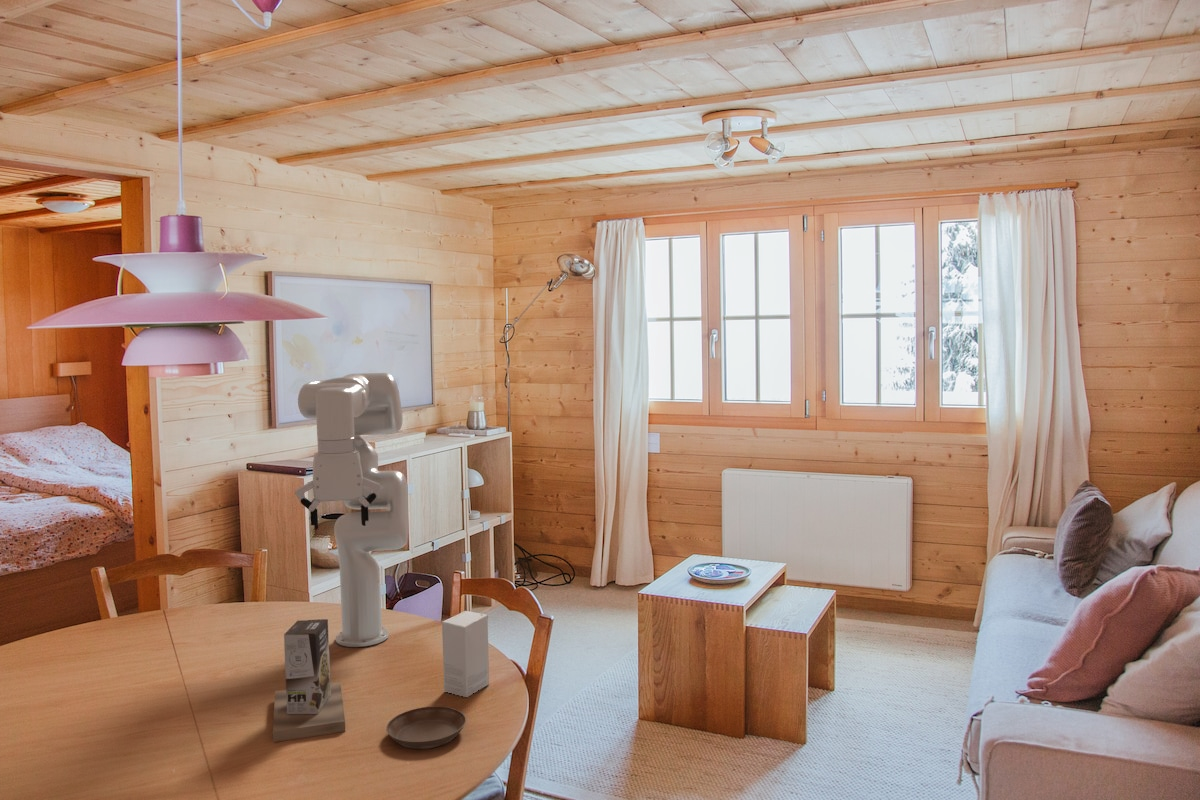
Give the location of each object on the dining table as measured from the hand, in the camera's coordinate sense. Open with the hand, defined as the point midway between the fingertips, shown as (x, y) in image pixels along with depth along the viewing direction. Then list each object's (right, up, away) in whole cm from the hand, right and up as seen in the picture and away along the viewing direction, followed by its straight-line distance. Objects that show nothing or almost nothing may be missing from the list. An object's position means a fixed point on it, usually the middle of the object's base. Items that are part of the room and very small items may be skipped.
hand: (340, 526), depth 192 cm
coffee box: (-3, -34, -11) cm, 36 cm away
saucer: (+22, -37, -21) cm, 48 cm away
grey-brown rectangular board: (-3, -36, -11) cm, 38 cm away
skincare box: (+27, -35, +1) cm, 44 cm away
